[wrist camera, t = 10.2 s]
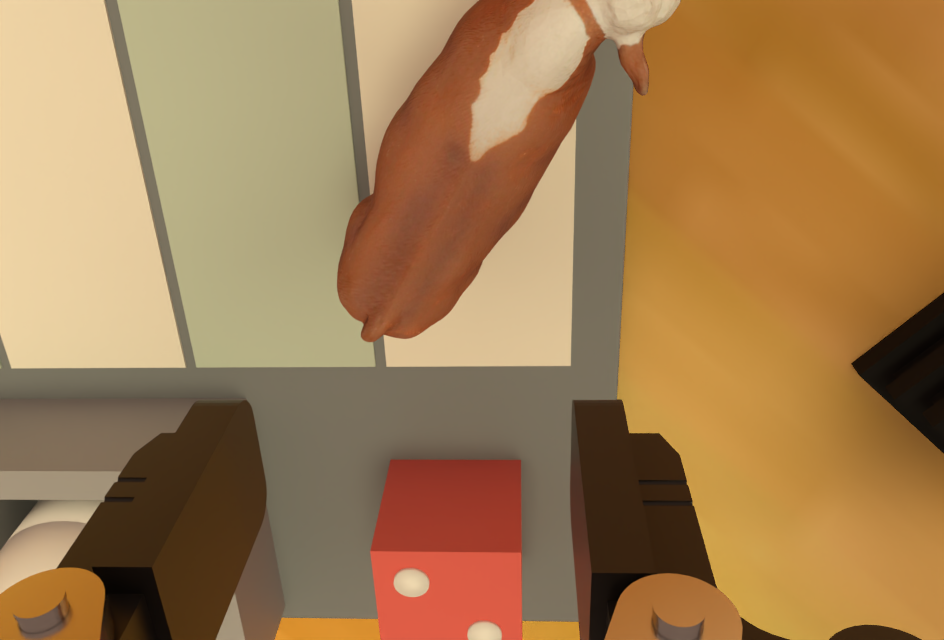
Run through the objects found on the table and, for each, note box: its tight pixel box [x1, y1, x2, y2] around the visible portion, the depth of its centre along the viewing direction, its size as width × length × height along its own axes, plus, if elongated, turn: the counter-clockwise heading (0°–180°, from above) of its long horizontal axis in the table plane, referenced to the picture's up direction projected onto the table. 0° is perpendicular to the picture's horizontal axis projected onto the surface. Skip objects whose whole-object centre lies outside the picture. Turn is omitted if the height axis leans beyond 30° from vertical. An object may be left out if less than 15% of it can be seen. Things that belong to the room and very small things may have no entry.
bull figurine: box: [337, 0, 681, 342], centre depth 23 cm, size 4×14×8 cm, turn 145°
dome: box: [0, 500, 104, 594], centre depth 30 cm, size 7×7×7 cm
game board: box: [0, 0, 633, 640], centre depth 28 cm, size 29×31×6 cm
